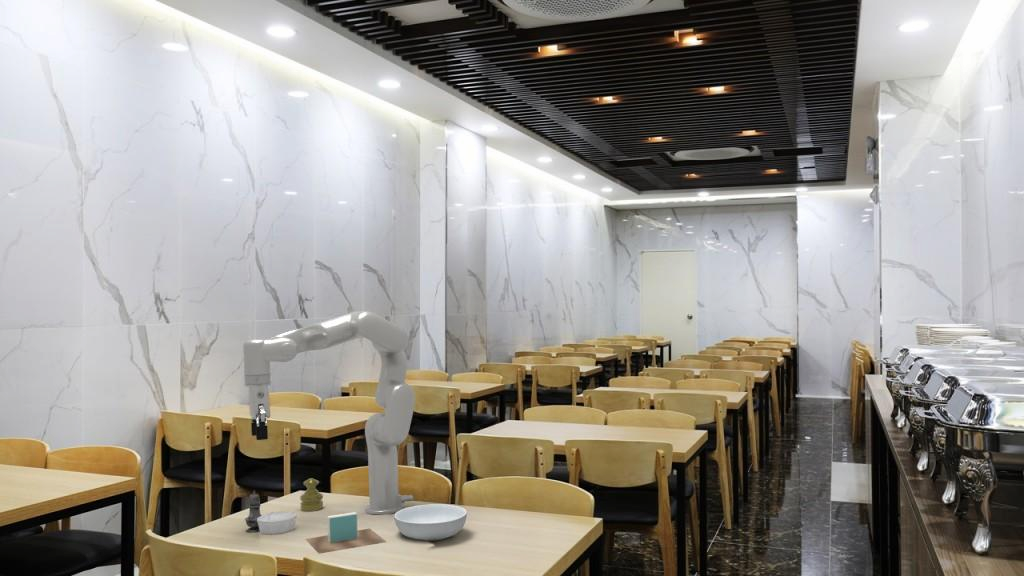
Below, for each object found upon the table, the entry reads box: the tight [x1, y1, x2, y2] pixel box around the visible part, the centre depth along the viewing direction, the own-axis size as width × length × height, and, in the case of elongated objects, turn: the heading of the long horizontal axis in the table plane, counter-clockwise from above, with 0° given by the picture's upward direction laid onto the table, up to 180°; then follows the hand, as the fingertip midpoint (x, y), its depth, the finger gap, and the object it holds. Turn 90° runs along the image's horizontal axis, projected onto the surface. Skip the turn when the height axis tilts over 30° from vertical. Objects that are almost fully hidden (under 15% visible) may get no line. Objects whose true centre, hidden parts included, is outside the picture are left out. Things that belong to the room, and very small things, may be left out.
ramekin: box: [257, 511, 297, 535], centre depth 242 cm, size 11×11×5 cm
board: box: [305, 528, 388, 555], centre depth 229 cm, size 19×16×1 cm
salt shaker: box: [244, 490, 263, 533], centre depth 247 cm, size 6×6×12 cm
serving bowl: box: [393, 503, 468, 542], centre depth 234 cm, size 21×21×7 cm
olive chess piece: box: [299, 477, 324, 512], centre depth 271 cm, size 7×7×10 cm
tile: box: [326, 511, 358, 543], centre depth 229 cm, size 8×2×7 cm, turn 117°
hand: (259, 437), depth 244 cm, fingers open, 9 cm apart
